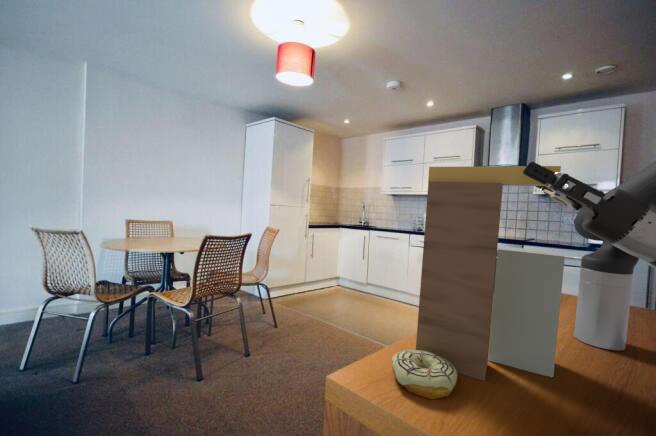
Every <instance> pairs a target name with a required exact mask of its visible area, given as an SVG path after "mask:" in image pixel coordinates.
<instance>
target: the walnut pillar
mask: <svg viewBox="0 0 656 436" xmlns="http://www.w3.org/2000/svg"><path fill="white" fill-rule="evenodd" d="M427 185H428V186H427V196H426V206H425V207H426V211H425V221H424V235H423V249H422V251H423V252H422V263H421V275H420V287H419V299H418V300H419V301H418V312H417V313H418V315H417V330H416V339H415V340H416V342H415V350H419V351H427V352H431V353H434V354H437V355H439V356H441V357H443V358H445V359H446V360H448V361H449V362H450V363H451V364H452V365H453V366H454V368H455V369H456V371H457V374H460V375H464V376H466V377H469V378H472V379H476V380H480V381H482V382H483V381H484V382H485V381H486V376H487V368H488V355H489V343H490V332H491V320H492V308H493V297H494V285H495V274H496V262H497V250H498V247H499V245H498V244H499V235H500V221H501V213H502V211H501V209H502V200H503V188H504V187H503V186H504V185H502V183H488V182H430V181H427Z"/></svg>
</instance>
